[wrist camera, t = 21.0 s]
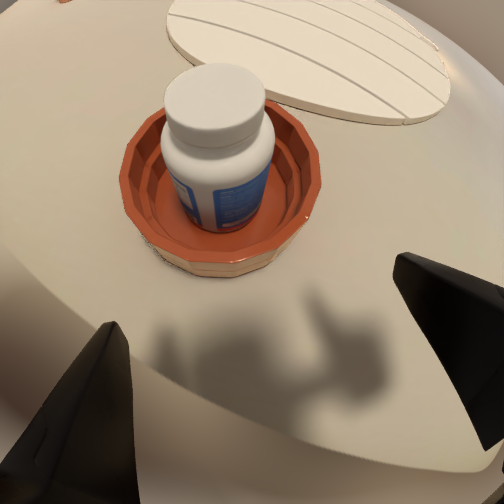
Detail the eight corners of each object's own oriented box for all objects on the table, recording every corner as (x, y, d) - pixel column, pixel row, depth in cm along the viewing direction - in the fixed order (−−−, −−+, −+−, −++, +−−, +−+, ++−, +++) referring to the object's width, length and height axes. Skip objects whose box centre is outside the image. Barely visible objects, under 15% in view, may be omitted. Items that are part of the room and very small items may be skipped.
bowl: (214, 314, 18) (209, 311, 13) (115, 196, 19) (88, 162, 14) (330, 205, 20) (357, 172, 15) (228, 113, 21) (229, 69, 17)
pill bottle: (267, 170, 20) (295, 65, 10) (253, 242, 18) (278, 159, 9) (193, 157, 19) (175, 49, 10) (171, 225, 18) (124, 136, 9)
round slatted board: (269, -34, 33) (271, -46, 30) (450, 51, 31) (458, 40, 27) (104, 43, 24) (98, 24, 20) (421, 201, 21) (444, 184, 18)
